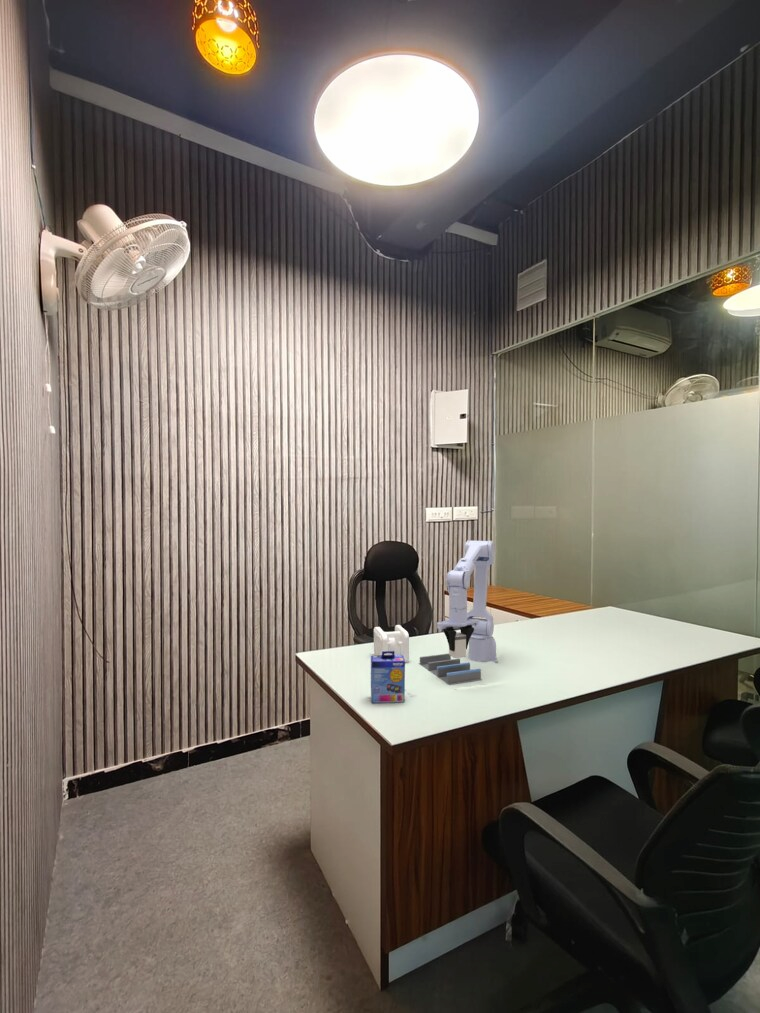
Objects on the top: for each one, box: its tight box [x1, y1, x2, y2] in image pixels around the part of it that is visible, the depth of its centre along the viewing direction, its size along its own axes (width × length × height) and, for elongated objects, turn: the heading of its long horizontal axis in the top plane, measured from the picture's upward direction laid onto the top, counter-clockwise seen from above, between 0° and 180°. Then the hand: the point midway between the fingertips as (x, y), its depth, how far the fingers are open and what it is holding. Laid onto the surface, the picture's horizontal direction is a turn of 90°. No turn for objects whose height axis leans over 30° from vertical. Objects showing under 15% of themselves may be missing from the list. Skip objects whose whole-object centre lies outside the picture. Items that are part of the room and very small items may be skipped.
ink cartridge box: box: [370, 651, 406, 704], centre depth 132 cm, size 10×6×14 cm, turn 95°
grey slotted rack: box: [418, 652, 483, 686], centre depth 153 cm, size 12×22×4 cm, turn 21°
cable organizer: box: [373, 624, 410, 663], centre depth 167 cm, size 15×11×12 cm
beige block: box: [448, 631, 467, 659], centre depth 148 cm, size 4×4×7 cm
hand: (458, 649), depth 147 cm, fingers closed on beige block, 4 cm apart
